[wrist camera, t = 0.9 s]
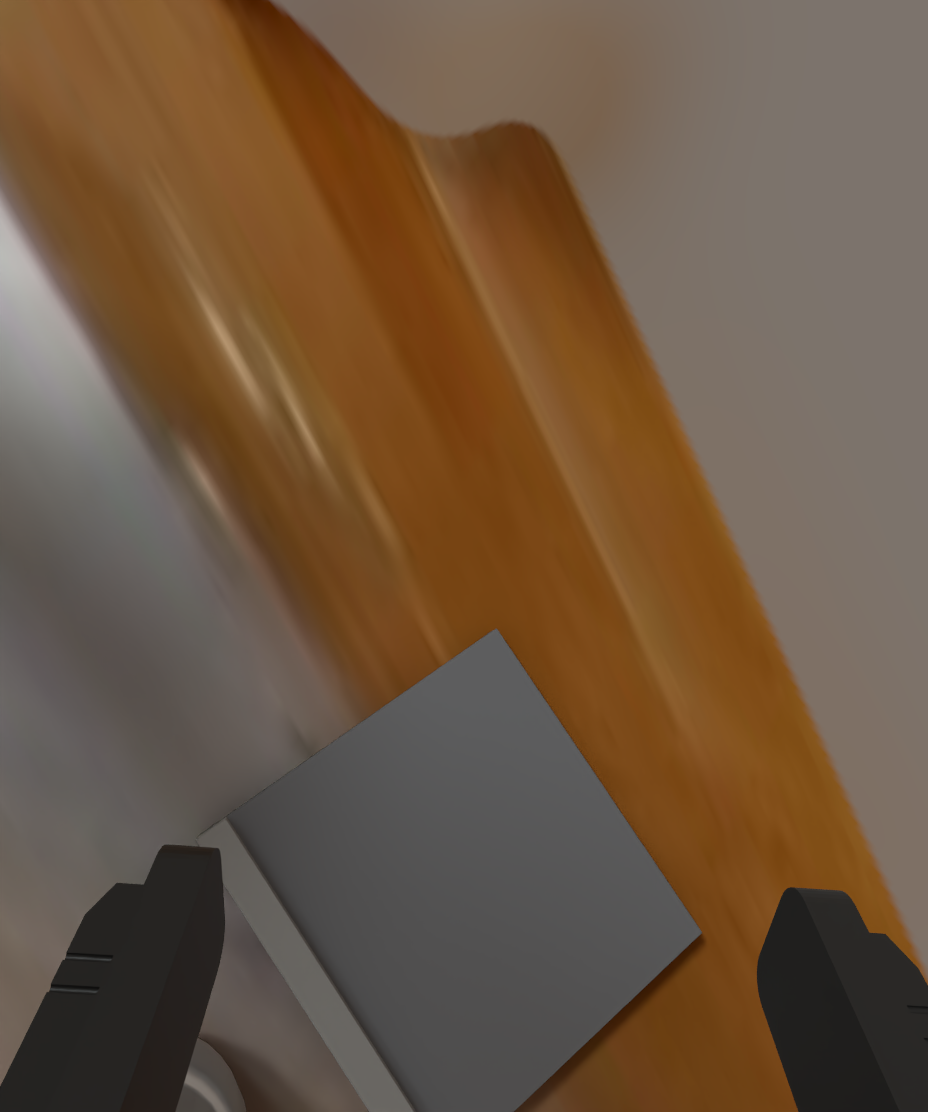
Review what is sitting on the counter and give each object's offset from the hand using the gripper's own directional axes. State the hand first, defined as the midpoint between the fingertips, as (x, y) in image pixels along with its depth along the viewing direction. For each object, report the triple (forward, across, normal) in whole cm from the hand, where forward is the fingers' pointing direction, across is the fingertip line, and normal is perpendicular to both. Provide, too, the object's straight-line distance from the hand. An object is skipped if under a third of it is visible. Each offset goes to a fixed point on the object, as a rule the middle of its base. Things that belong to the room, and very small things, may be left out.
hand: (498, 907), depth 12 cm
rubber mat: (+15, -1, +16) cm, 22 cm away
